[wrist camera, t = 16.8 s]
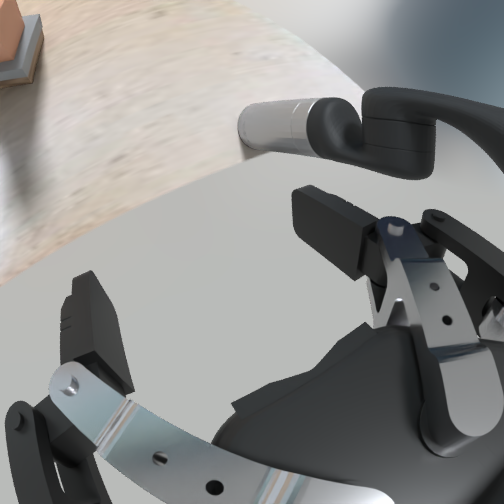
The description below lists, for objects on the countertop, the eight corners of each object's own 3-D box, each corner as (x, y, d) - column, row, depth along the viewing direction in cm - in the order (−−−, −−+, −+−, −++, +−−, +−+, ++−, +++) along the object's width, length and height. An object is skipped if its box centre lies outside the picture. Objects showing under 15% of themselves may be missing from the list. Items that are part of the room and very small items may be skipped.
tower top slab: (42, 26, 17) (39, 14, 14) (27, 76, 20) (21, 68, 16) (-4, 34, 13) (-11, 23, 9) (-19, 85, 15) (-29, 78, 12)
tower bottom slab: (44, 37, 20) (41, 26, 17) (32, 83, 23) (27, 76, 20) (1, 44, 16) (-5, 35, 12) (-11, 90, 19) (-19, 85, 15)
